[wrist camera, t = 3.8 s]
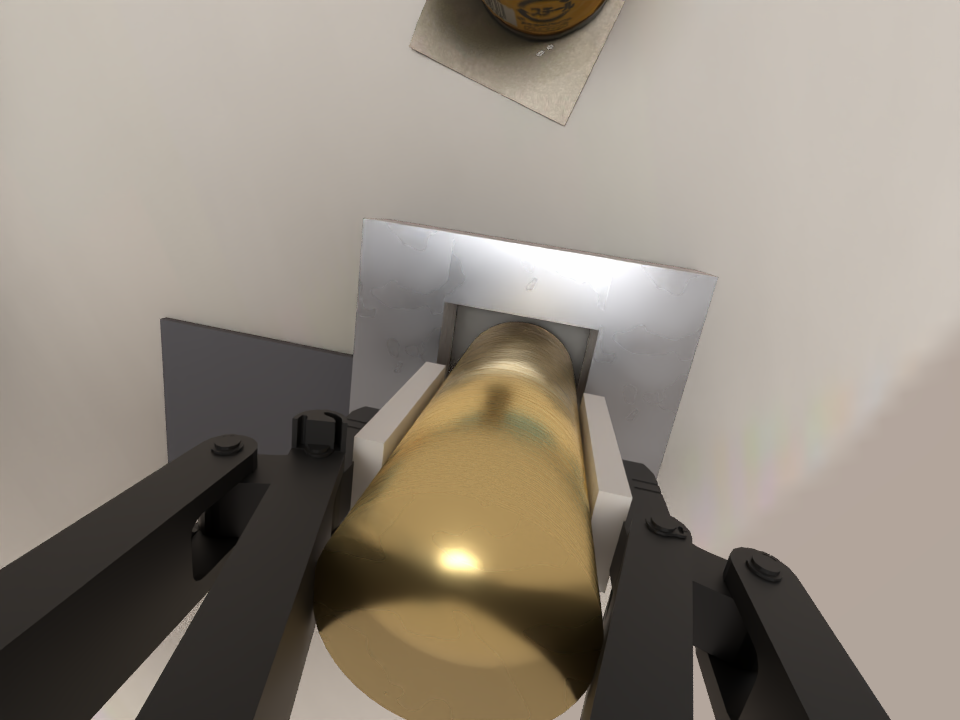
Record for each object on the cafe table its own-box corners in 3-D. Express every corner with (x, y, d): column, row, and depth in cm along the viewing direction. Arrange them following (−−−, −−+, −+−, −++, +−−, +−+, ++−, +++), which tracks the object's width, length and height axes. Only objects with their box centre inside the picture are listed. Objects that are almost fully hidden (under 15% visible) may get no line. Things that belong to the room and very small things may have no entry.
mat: (175, 505, 29) (170, 509, 28) (166, 317, 25) (160, 318, 25) (359, 551, 27) (356, 555, 27) (376, 360, 24) (373, 362, 23)
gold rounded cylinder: (454, 416, 22) (306, 693, 9) (470, 312, 21) (318, 462, 8) (561, 439, 22) (567, 768, 9) (585, 333, 20) (639, 536, 7)
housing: (368, 446, 25) (344, 474, 22) (388, 219, 22) (363, 218, 19) (627, 504, 24) (636, 542, 21) (695, 269, 20) (718, 277, 17)
